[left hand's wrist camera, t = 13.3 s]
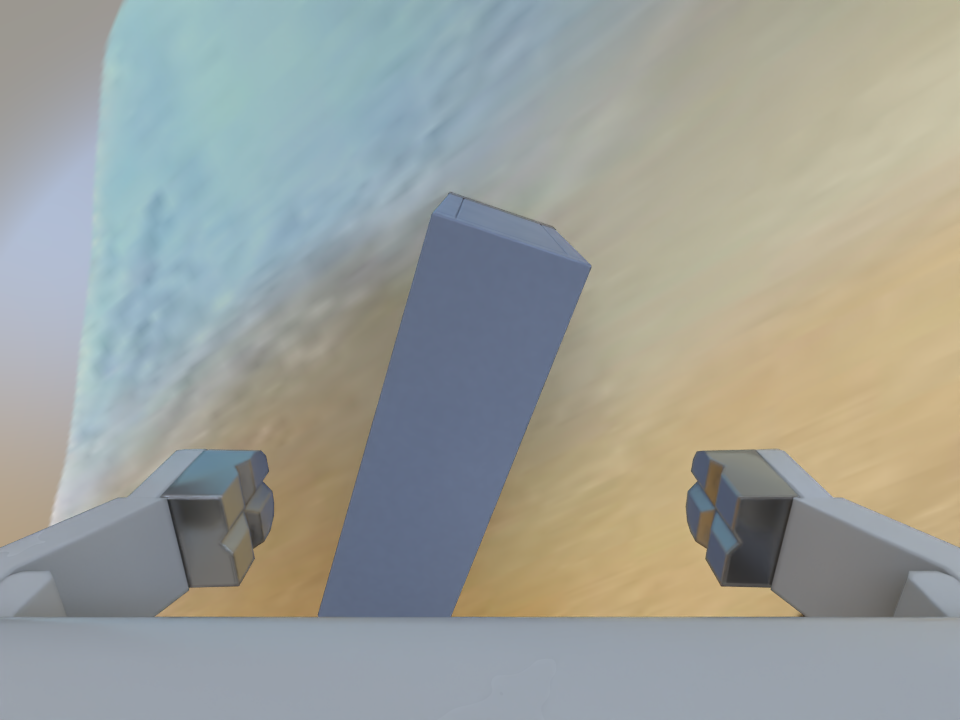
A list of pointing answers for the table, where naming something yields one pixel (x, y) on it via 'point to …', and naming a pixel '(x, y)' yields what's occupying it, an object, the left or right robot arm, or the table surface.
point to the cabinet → (452, 408)
